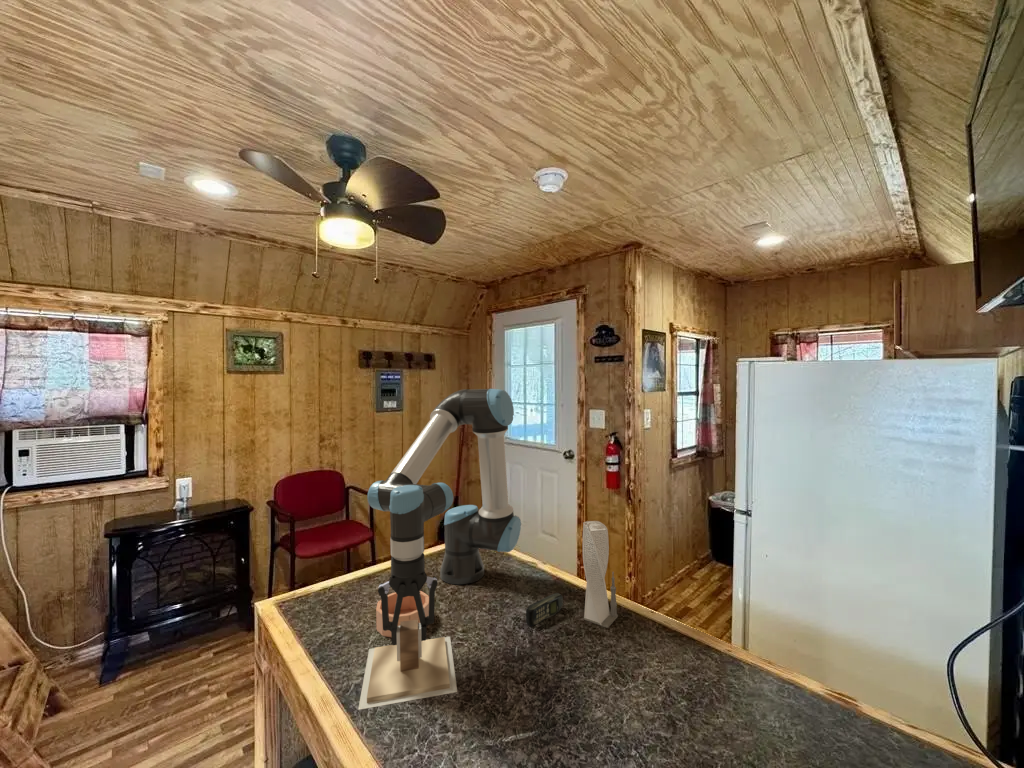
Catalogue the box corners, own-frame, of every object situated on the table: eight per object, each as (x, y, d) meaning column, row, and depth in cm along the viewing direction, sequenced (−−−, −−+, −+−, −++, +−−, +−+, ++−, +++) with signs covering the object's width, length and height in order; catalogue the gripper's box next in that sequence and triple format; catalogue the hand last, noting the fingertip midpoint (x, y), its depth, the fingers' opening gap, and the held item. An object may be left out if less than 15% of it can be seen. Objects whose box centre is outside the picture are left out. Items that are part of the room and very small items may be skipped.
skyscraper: (605, 630, 110) (603, 525, 110) (578, 620, 115) (576, 519, 115) (618, 616, 117) (616, 516, 117) (591, 607, 122) (590, 512, 122)
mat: (450, 638, 108) (450, 636, 108) (457, 694, 89) (457, 691, 89) (369, 651, 104) (369, 648, 104) (358, 712, 84) (358, 709, 84)
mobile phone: (531, 611, 112) (567, 590, 122) (523, 607, 114) (559, 587, 124) (531, 629, 112) (567, 607, 122) (524, 625, 114) (560, 603, 125)
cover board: (444, 640, 106) (443, 601, 106) (449, 688, 90) (448, 641, 90) (374, 651, 103) (374, 611, 103) (366, 702, 86) (365, 654, 86)
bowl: (428, 607, 124) (428, 587, 124) (430, 635, 110) (429, 612, 110) (379, 614, 120) (379, 593, 120) (374, 643, 107) (374, 620, 107)
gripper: (444, 544, 102) (445, 640, 102) (370, 552, 98) (372, 651, 98) (446, 556, 94) (448, 660, 94) (366, 565, 91) (368, 672, 91)
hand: (409, 655), depth 96 cm, fingers closed on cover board, 4 cm apart
